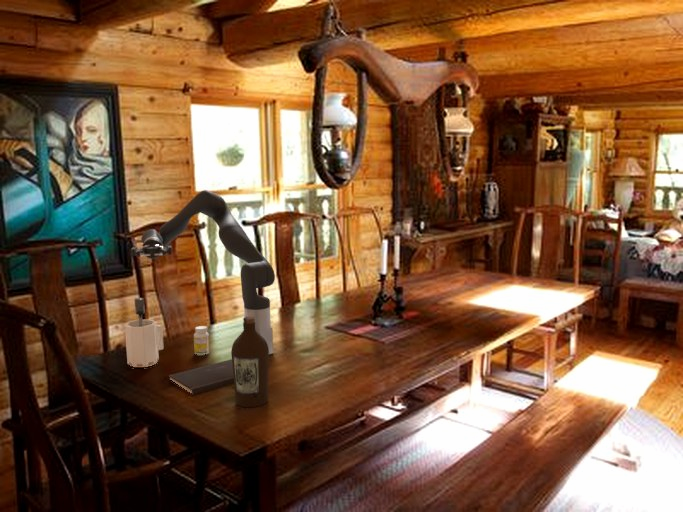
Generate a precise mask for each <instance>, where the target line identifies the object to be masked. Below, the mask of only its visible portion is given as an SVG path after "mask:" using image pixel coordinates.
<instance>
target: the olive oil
mask: <svg viewBox="0 0 683 512" xmlns="http://www.w3.org/2000/svg"><path fill="white" fill-rule="evenodd" d="M242 320H243V322H242V327H243V328H242V329H243V330H242V332H240V334H239V335H238V336H237V338H236V339H235V340H234V341H233V343H232V344H231V345H232V346H231V351H230V352H231V354H230V355H231V359H232V365H233V375H234V383H233V385H234V386H233V387H234V397H235V398H234V401H235V404H236V405H237V406H239V407H243V408H257V407H260V406H263V405H265V404H266V403H268V400H269V362H270V359H269V358H270V355H269V348H268V344H267V342H266V340H265V339H264V338H263V337H262V336H261V335H260V334H259V333H258V332H257V331H256V330H255V322H254V320H255V318H254V317H252V316H248V317H243V318H242Z"/></svg>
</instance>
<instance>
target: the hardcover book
mask: <svg viewBox="0 0 683 512" xmlns="http://www.w3.org/2000/svg"><path fill="white" fill-rule="evenodd" d="M168 377H169V380H172V381H173V382H175V383H176V384H178V385H179V386H178V385H177V386H178V387H180V386H181V387H182V388H181V387H180V388H181V389H183V388H184V389H185V391H186V390H187V391H186V392H188V393H189V392H190V393H189V394H191V393H192V394H191V395H192V396H194V395H193V394H195V395H198V394H202V393H205V392H208V390H209V391H211V389H212V390H216V389H219V388H222V386H223V387H225V386H226V387H227V386H230V385H234V375H233V365H232V358H230V359H227V360H224V361H219V362H216V363H212V364H207V365H204V366H201V367H196V368H193V369H188V370H184V371H180V372H176V373H173V374H169V375H168ZM172 381H171V382H172ZM173 382H172V383H173ZM175 383H174V384H175ZM176 384H175V385H176ZM229 384H230V385H229ZM215 388H216V389H215ZM184 389H183V390H184ZM201 392H202V393H201ZM197 393H198V394H197Z"/></svg>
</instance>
